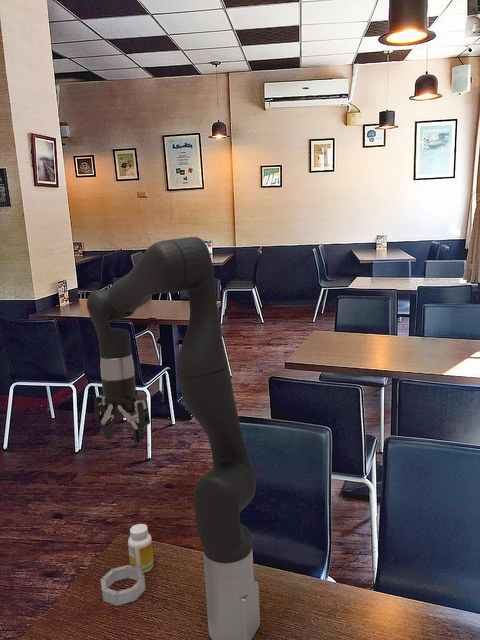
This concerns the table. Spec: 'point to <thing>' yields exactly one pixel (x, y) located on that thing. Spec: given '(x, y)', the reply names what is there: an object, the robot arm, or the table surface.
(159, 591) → the table surface
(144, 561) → the supplement bottle
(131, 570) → the ring holder
